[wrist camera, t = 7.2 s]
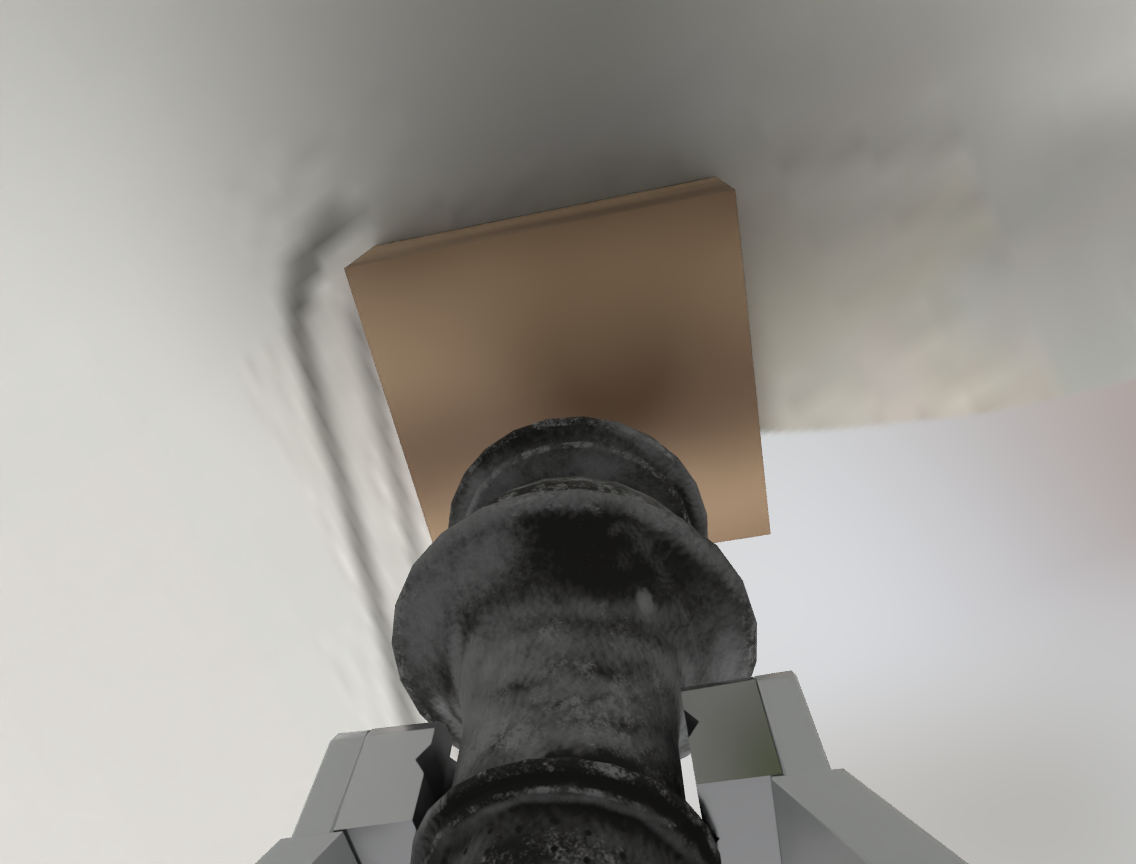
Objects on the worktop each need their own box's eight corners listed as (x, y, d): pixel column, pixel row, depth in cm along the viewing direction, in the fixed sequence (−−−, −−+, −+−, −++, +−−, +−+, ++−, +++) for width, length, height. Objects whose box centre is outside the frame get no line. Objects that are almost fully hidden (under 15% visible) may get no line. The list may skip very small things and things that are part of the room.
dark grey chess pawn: (522, 685, 17) (394, 1757, 6) (378, 479, 15) (-215, 1535, 4) (767, 588, 16) (1170, 1723, 5) (645, 349, 14) (864, 1375, 3)
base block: (373, 246, 22) (344, 268, 19) (715, 176, 21) (735, 189, 18) (460, 532, 26) (446, 584, 23) (749, 485, 25) (770, 534, 22)
